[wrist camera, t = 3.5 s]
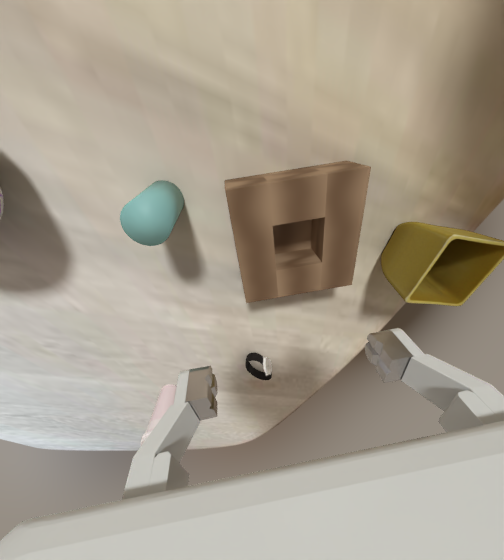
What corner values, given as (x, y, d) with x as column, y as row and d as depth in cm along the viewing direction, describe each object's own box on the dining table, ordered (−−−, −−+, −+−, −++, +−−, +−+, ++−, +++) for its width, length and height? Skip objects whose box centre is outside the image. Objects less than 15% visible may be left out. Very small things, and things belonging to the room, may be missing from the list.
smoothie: (148, 385, 44) (122, 474, 33) (178, 377, 44) (163, 465, 33) (163, 400, 48) (144, 485, 37) (191, 393, 48) (181, 477, 36)
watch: (275, 366, 46) (279, 382, 43) (255, 374, 47) (257, 390, 44) (261, 345, 42) (264, 362, 39) (238, 354, 43) (240, 371, 40)
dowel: (177, 177, 24) (161, 195, 18) (188, 213, 26) (177, 241, 20) (141, 183, 24) (110, 204, 17) (155, 219, 26) (132, 249, 20)
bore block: (346, 160, 25) (370, 166, 21) (335, 265, 33) (351, 284, 29) (224, 180, 25) (225, 190, 21) (243, 281, 33) (246, 302, 29)
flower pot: (447, 217, 31) (519, 245, 23) (411, 270, 35) (461, 307, 28) (393, 207, 29) (452, 234, 22) (363, 264, 34) (403, 302, 26)
